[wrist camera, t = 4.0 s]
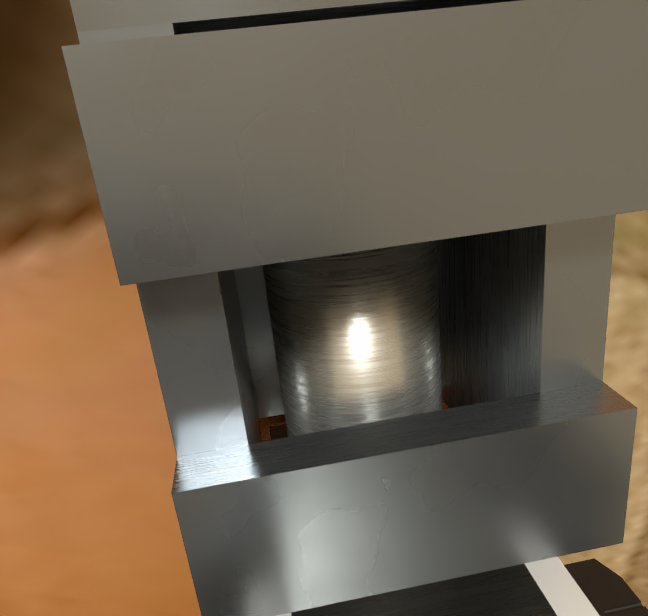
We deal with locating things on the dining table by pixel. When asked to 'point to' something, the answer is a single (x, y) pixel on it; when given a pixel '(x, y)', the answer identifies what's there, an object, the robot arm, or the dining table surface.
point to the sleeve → (366, 234)
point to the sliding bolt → (375, 390)
